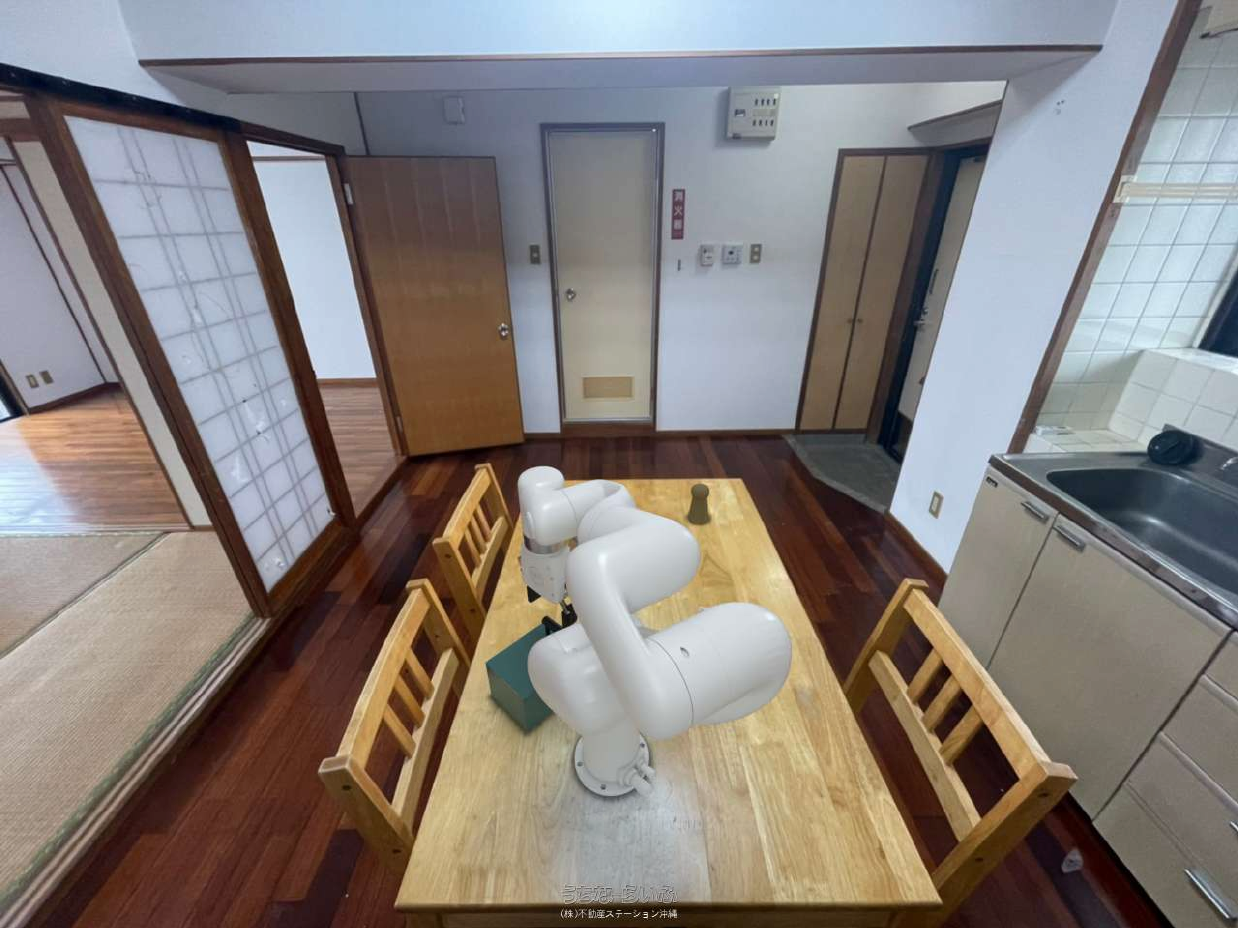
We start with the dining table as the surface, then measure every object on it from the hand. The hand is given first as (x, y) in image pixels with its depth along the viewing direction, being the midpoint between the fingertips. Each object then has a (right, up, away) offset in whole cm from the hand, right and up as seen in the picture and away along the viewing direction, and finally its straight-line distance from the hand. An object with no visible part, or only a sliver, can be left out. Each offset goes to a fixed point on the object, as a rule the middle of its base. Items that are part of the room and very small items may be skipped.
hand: (552, 611), depth 96 cm
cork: (+36, +11, +56) cm, 68 cm away
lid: (-3, -9, 0) cm, 10 cm away
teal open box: (-3, -17, +4) cm, 17 cm away
